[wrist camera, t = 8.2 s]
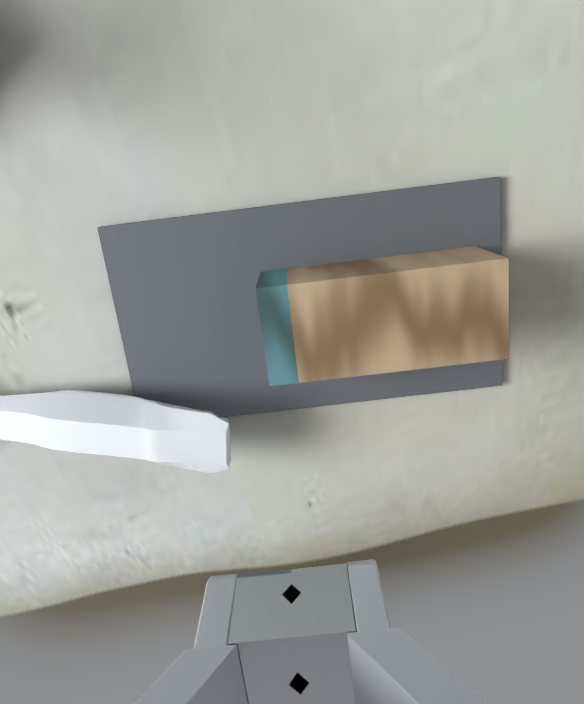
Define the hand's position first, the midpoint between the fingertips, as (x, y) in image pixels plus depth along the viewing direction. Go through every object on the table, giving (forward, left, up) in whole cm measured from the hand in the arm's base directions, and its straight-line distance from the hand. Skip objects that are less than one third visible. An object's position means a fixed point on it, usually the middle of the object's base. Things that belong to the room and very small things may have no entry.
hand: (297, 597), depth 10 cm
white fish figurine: (+5, -13, -23) cm, 27 cm away
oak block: (0, -2, -21) cm, 21 cm away
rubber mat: (0, +1, -23) cm, 23 cm away
